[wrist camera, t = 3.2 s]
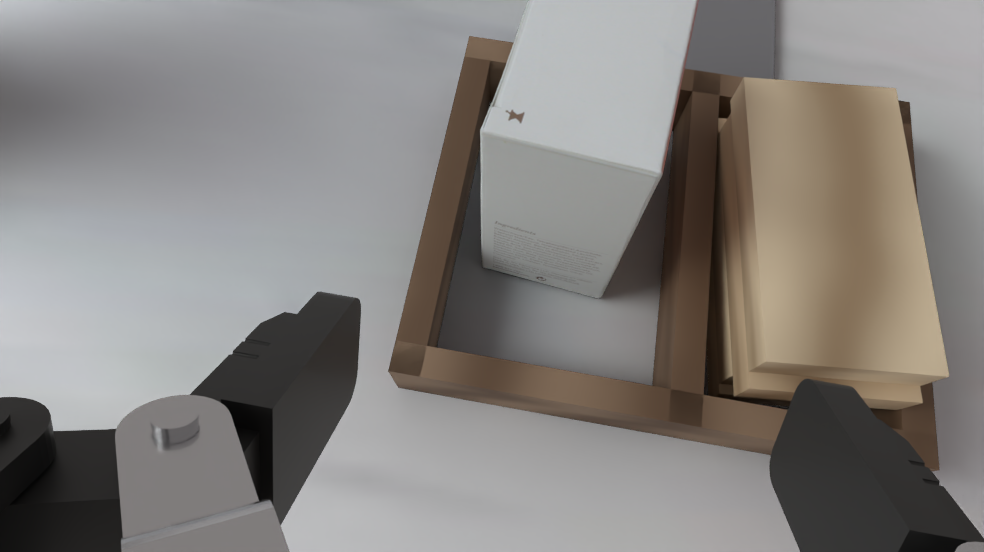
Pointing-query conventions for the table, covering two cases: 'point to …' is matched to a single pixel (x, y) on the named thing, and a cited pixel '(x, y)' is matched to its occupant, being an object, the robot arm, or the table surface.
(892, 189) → the offcut stack
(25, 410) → the robot arm
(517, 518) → the table surface
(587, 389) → the walnut rack
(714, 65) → the charcoal mat
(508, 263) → the small box
